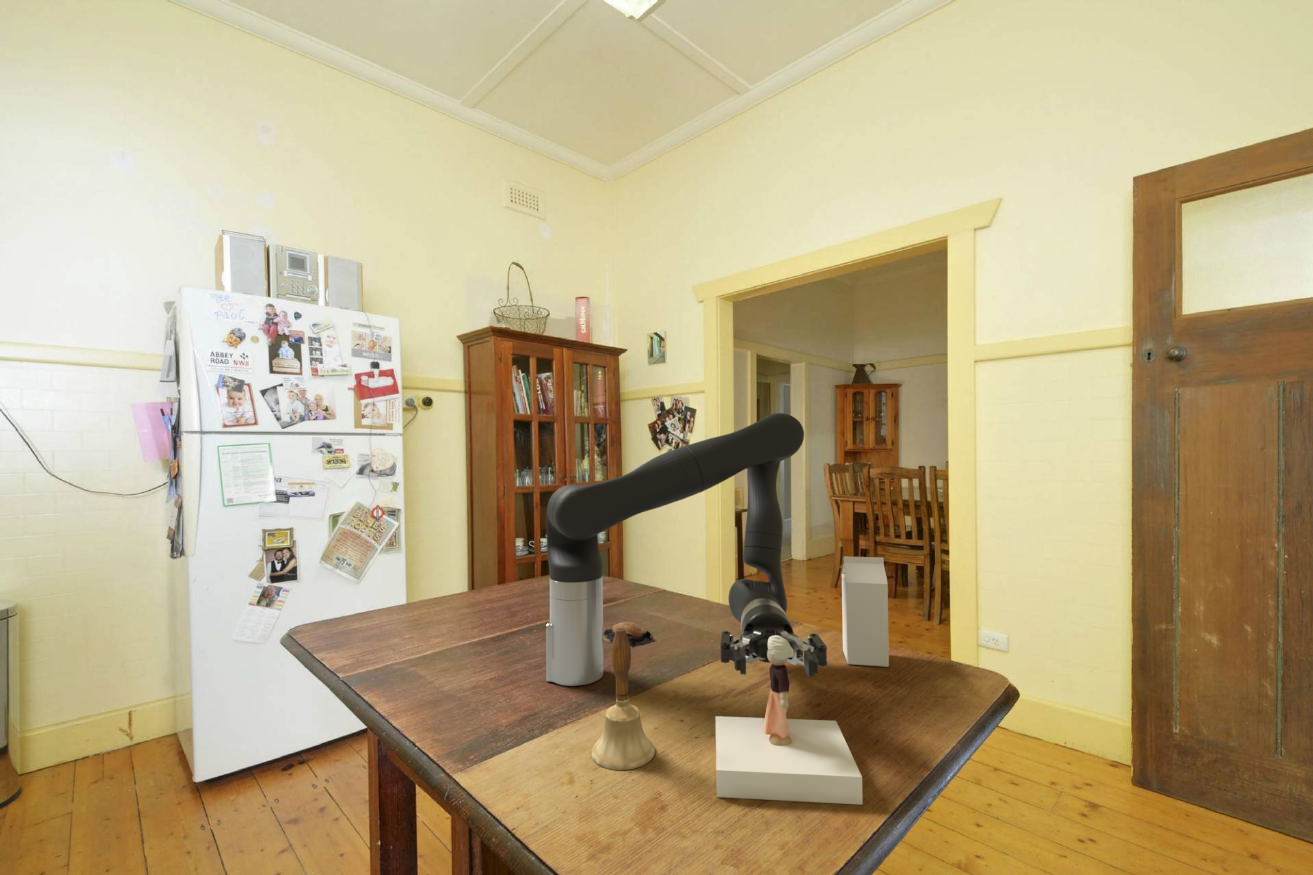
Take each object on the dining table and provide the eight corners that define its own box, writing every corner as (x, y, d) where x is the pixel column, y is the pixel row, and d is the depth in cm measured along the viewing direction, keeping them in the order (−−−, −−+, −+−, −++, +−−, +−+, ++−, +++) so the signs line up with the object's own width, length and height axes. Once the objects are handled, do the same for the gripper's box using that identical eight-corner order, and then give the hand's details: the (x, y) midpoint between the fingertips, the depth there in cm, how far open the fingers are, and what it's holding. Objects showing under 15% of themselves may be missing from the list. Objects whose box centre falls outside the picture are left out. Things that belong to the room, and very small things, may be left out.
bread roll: (595, 640, 119) (595, 622, 119) (626, 631, 125) (626, 614, 125) (627, 652, 111) (627, 633, 111) (659, 642, 117) (658, 624, 117)
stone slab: (716, 797, 64) (716, 770, 64) (715, 738, 76) (715, 716, 77) (862, 804, 62) (862, 777, 62) (836, 743, 75) (836, 720, 75)
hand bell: (609, 778, 67) (608, 644, 68) (580, 747, 74) (580, 626, 75) (667, 758, 72) (666, 632, 72) (635, 730, 79) (634, 616, 79)
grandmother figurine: (755, 724, 74) (754, 627, 74) (783, 723, 74) (782, 626, 75) (773, 756, 66) (772, 648, 67) (805, 754, 67) (803, 646, 67)
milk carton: (889, 667, 101) (887, 561, 101) (847, 665, 102) (846, 560, 103) (881, 653, 108) (879, 554, 108) (842, 651, 109) (841, 553, 110)
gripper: (719, 603, 88) (720, 636, 72) (812, 605, 87) (834, 640, 71) (719, 651, 88) (721, 696, 72) (812, 654, 87) (835, 700, 71)
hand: (777, 668), depth 71 cm, fingers open, 8 cm apart
